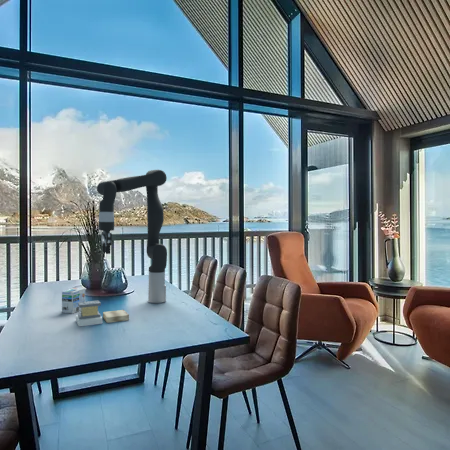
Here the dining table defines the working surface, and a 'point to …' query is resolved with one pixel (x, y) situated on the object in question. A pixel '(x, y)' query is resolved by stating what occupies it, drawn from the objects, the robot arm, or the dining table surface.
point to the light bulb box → (72, 299)
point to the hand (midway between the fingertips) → (106, 252)
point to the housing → (89, 309)
